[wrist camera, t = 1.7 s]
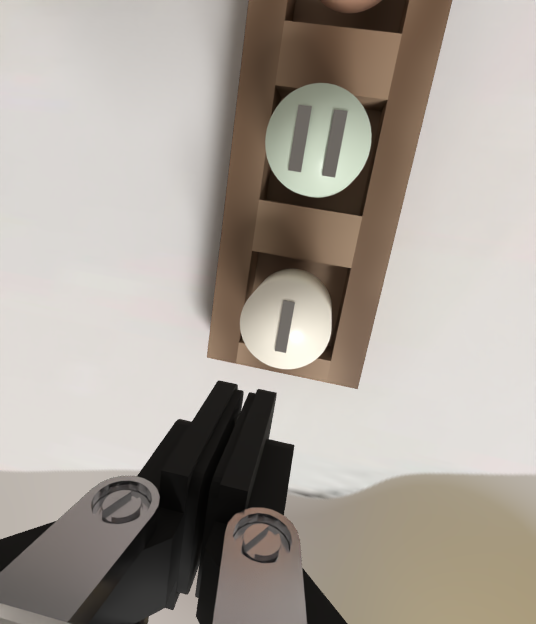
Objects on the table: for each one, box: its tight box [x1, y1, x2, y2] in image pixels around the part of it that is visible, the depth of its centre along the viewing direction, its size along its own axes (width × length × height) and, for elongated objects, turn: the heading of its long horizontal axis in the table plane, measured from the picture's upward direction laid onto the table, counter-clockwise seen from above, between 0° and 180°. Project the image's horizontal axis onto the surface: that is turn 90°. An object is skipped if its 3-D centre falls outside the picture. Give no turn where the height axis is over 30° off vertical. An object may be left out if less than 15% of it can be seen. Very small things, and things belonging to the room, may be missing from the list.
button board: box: [207, 0, 452, 389], centre depth 23 cm, size 10×27×3 cm, turn 171°
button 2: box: [265, 83, 371, 198], centre depth 20 cm, size 5×5×4 cm
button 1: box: [240, 269, 332, 369], centre depth 22 cm, size 5×5×4 cm
